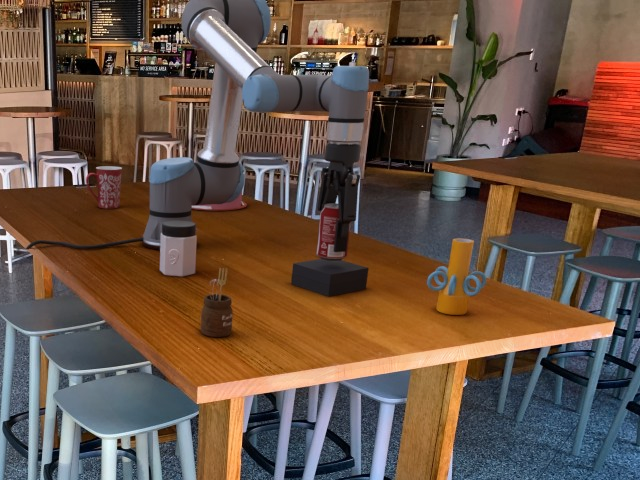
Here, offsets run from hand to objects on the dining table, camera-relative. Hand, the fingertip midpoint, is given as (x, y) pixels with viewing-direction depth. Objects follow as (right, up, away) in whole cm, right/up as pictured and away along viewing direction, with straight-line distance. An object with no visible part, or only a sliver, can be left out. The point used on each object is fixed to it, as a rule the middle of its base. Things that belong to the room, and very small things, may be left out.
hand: (332, 247), depth 180 cm
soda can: (0, -2, +1) cm, 3 cm away
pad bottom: (0, -8, +3) cm, 9 cm away
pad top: (0, -6, +2) cm, 7 cm away
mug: (-55, +31, +98) cm, 117 cm away
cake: (-16, +33, +104) cm, 111 cm away
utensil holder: (-30, -21, -28) cm, 46 cm away
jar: (-34, -4, +15) cm, 38 cm away
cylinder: (+21, -16, -14) cm, 30 cm away
